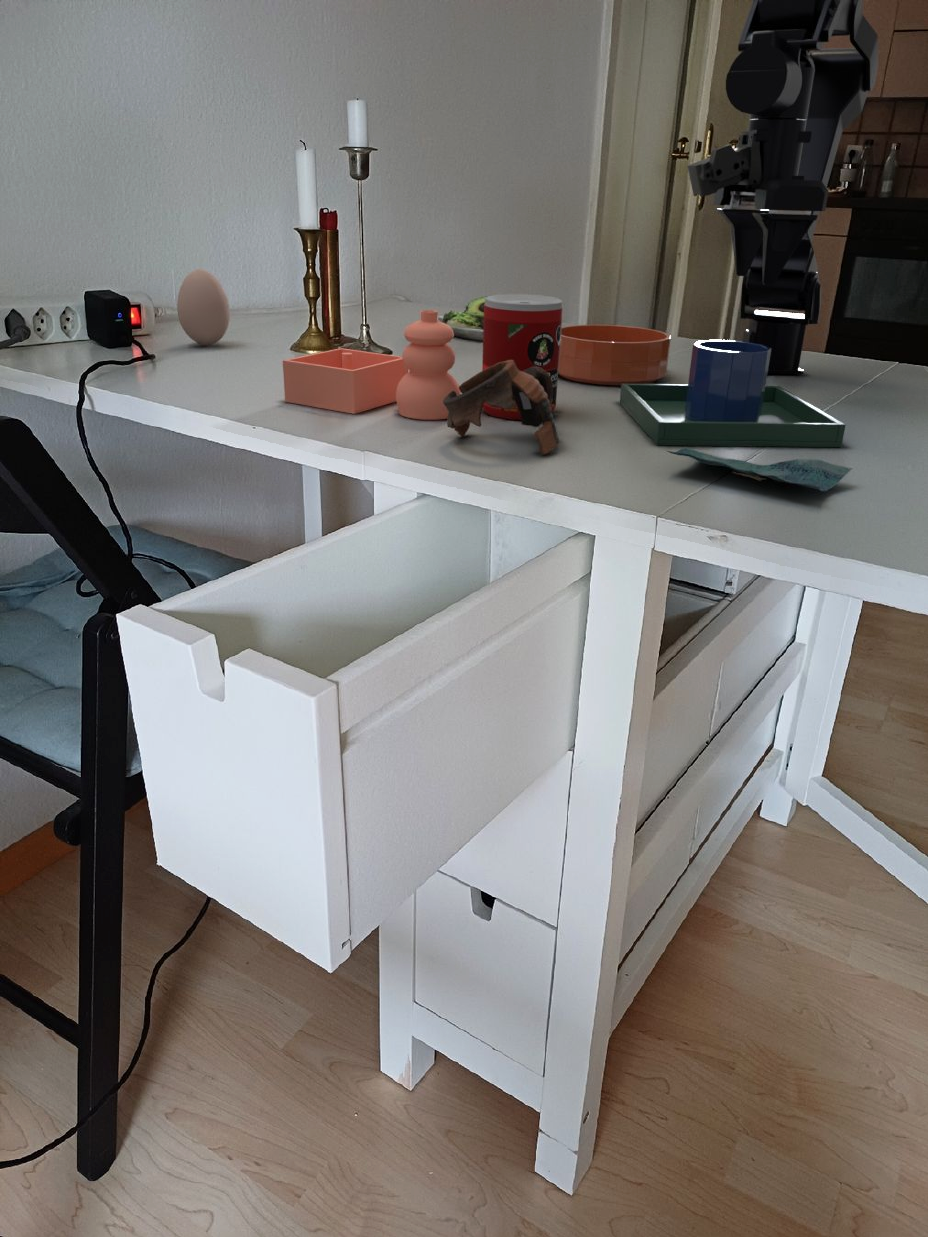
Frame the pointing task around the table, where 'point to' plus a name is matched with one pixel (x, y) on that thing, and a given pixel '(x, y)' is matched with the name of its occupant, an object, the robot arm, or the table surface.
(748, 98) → the robot arm
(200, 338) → the egg
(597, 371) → the terracotta bowl
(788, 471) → the terrain model
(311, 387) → the pottery
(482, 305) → the salad plate
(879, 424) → the table surface
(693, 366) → the blue cup
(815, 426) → the green tray
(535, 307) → the canned food
